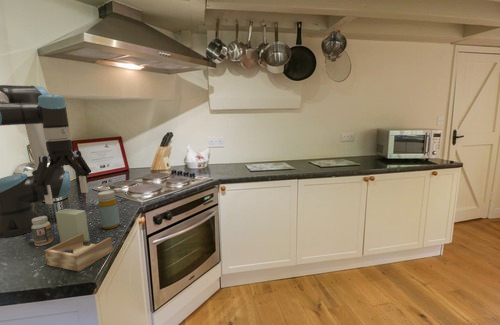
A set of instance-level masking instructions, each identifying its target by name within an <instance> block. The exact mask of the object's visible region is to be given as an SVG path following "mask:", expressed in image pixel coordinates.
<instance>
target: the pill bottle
mask: <svg viewBox="0 0 500 325" xmlns="http://www.w3.org/2000/svg"><path fill="white" fill-rule="evenodd" d="M48 220H49V219H48V216H47V215H42V216H38V217H36V218H33V219H32V223H33V225H32V227H31V229H32V231H31V234H32V237H33V242H34V245H35V246H37V247H42V246H45V245H49V244H50V243H51V244H52V242H53V241H54V236H53V230H52V225H51V224H52V223H51V222H50V221H48Z"/></svg>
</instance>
